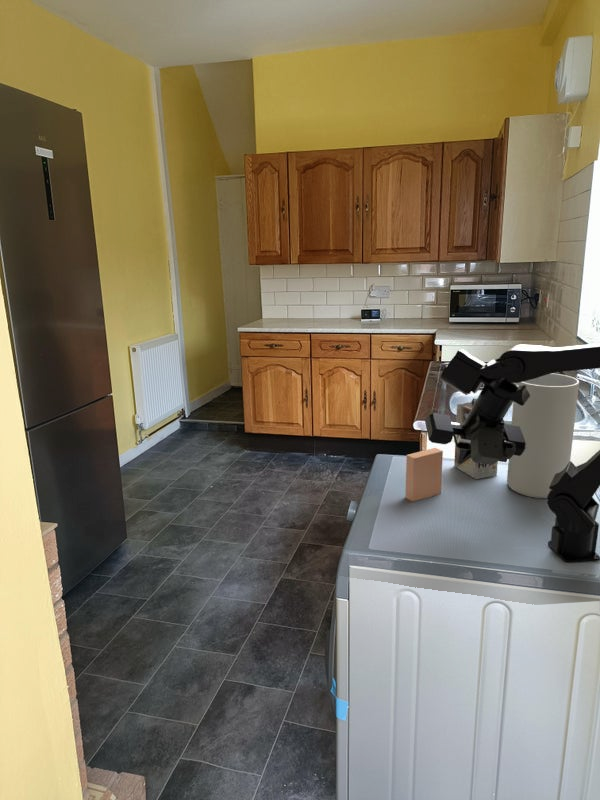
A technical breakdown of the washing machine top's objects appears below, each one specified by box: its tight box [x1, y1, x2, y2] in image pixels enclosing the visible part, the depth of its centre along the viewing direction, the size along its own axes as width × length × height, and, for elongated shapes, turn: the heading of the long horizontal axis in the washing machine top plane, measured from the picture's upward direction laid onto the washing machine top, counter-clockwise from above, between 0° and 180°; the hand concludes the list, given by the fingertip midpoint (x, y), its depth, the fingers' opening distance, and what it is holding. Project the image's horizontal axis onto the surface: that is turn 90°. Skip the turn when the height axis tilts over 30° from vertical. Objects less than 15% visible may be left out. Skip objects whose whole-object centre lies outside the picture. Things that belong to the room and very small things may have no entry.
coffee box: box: [454, 401, 499, 480], centre depth 136 cm, size 9×6×16 cm
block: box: [404, 447, 444, 502], centre depth 125 cm, size 3×8×10 cm, turn 119°
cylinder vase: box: [506, 373, 580, 499], centre depth 125 cm, size 12×12×25 cm
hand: (458, 462), depth 115 cm, fingers closed
